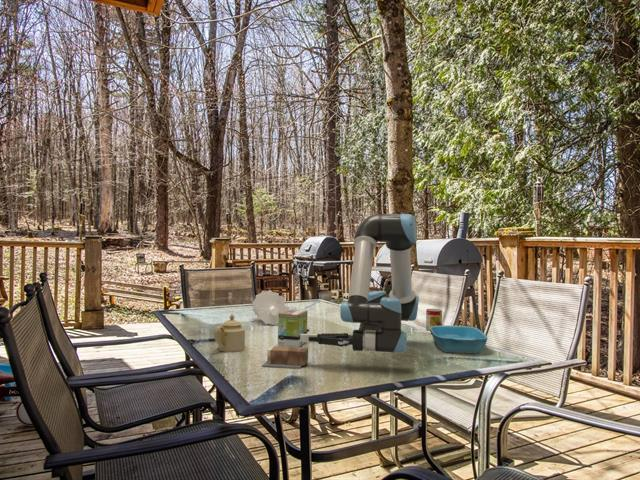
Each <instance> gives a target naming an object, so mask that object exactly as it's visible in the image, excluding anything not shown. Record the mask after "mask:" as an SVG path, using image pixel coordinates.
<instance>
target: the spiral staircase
mask: <svg viewBox="0 0 640 480" xmlns="http://www.w3.org/2000/svg"><path fill="white" fill-rule="evenodd" d="M252 304H253V308H252V310H253V312H254V315H255V316H256V319H258V320H261V321H262V322H263V323H264V324H265V325H272V326H276V325H278V323H279V313H281V312H283V311H286V310H290V307H289V306H288V305H287V306H286V305H285V304H286V302H285V299H284V297H283V296H282V295H279V294H278V293H277V292H276V291H274V292H273V291H272V290H270V289H269V290H268V291H267V290H261V292H260V293H258V294H256V295H255V298H254V299H253V301H252Z"/></svg>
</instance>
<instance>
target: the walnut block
mask: <svg viewBox="0 0 640 480" xmlns="http://www.w3.org/2000/svg"><path fill="white" fill-rule="evenodd" d="M266 354H267V359H266V360H267V364H285V365H303V366H305V365H306V364H307V363H308V362H309V347H301V346H300V347H283V346H278V345H271V347H269V348H268V349H267V353H266ZM303 366H302V367H303Z"/></svg>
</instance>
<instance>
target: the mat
mask: <svg viewBox="0 0 640 480" xmlns="http://www.w3.org/2000/svg"><path fill="white" fill-rule="evenodd" d="M261 366H262V368H279V369H280V368H281V369H298V370H299V369H302V367H303V365H285V364H267V361H266V362H264V363H263V364H262V365H261Z"/></svg>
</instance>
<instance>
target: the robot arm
mask: <svg viewBox="0 0 640 480" xmlns="http://www.w3.org/2000/svg"><path fill="white" fill-rule="evenodd" d="M417 242H418V228H417V222H416V218H415V216H414V215H413V214H410V213H374V214H372V215H370V216H367V217H366V218H365V219H364V220H363V221H362V222H361V223H360V224H359V226H358V227H357V229H356V231H355V233H354V236H353V245H354V246H355V247H354V254H353V260H352V261H353V262H352V269H351V274H350V275H351V276H350V284H349V288H348V289H349V290H348V295H347V296H348V298H347V301H343V302H341V303H340V304H341V305H340V309H339V311H340V313H339V316H340V319H341V321H342V322H345V323H352V324H354V323H358V324H359V327H358V329H353V331H352V335H351V334H349V333H347V332H343V333H340V332H339V333H338V332H336V333H333V332H332V333H317V334H315V333H307V334H300V342H305V343H318V345H326V346H335V347H341V348H342V347H348V346H352V350H353V351H354V352H355V351H357V352H362V351H365V352H370V353H371V354H372V353H373V352H378V353H379V352H380V353H391V354H392V353H393V354H394V353H397V354H398V353H401V354H402V353H405V352H406V351H407V345H408V344H407V343H408V342H407V338H408V337H407V336H408V335H407V332H406V331H402V322H414V321H415V320H416V319H417V317H418V309H419V301H420V297H419V295H418V294H416V292H415V291H414V289H413V286H412V285H413V284H412V282H413V281H412V261H411V260H412V259H411V249H412V248H413V247H414V245H415V243H417ZM378 243H385V246H386V249H388V250H389V257H390V258H389V259H390V273H391V274H390V275H391V276H390V277H391V290H390V292H389V293H388V294H387V292H386V291H385V290H374V291H370V287H371V278H372V270H373V263H374V262H373V260H374V251H375V249H376V248H377V246H378Z"/></svg>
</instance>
